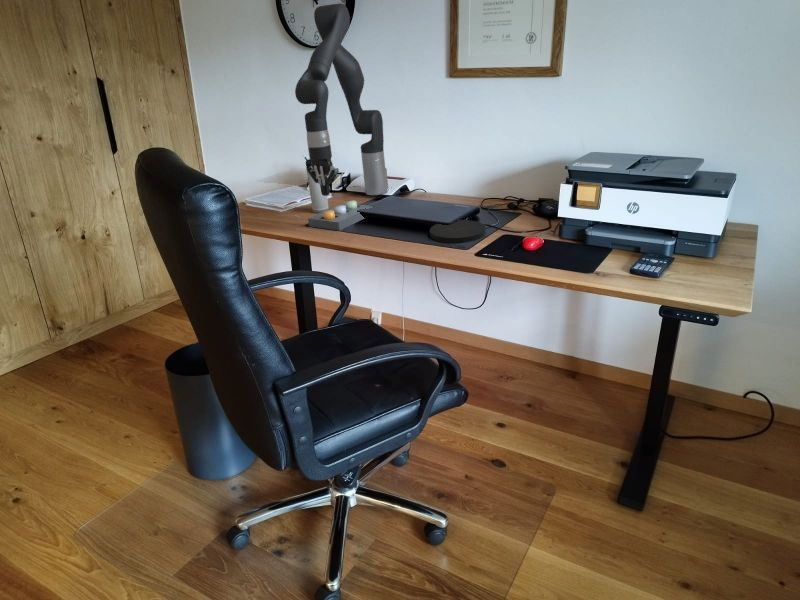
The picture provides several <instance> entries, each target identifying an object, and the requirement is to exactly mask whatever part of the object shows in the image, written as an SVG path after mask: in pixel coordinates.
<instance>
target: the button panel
mask: <svg viewBox="0 0 800 600" xmlns="http://www.w3.org/2000/svg"><path fill="white" fill-rule="evenodd" d="M339 205H345V206H346V202H342V203H340V204H338V205H335V206H332V208H331V207H330V208H329V209H328V210H333V211H334V213H335V207H336V206H339ZM373 207H374V206H372V205H364V204H363V205H362V204H357V208H356V209H353V210H351V209H346V213H345V214H343V215H339V214H335V218H334V219H332V220H325V219H324V217H323V212H321V213H316V214H315V215H313V216H309V217H308V218H307V220H308V227H311V228H317V229H326V230H330V231H331V230H332V231H338V232H339V231H342V230H344V229H347V228H348V227H350V226H352V225H354V224H356V223H358V222H360V221H362V220H364V219H365V218H364V217H363V216H362V215H361V214H360V212H357V210H359V209H365V208H366V209H369V208H373ZM373 209H374V208H373ZM328 210H326V211H328Z"/></svg>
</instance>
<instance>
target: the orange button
mask: <svg viewBox="0 0 800 600" xmlns="http://www.w3.org/2000/svg"><path fill="white" fill-rule="evenodd" d="M323 217H324V219H325V220H332V219H334V218H335V213H334V211H333V210H328V211H324V212H323Z"/></svg>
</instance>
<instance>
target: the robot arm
mask: <svg viewBox="0 0 800 600" xmlns="http://www.w3.org/2000/svg"><path fill="white" fill-rule="evenodd" d="M313 15H314V16H313V18H314V23H315V27H316V29H317V31H318V33H319V36H320V38H321V40H322V41H321V42H320V43H319V44H318V45H317V46H316V48H315V49H314V50H313V52H312V54H311V56H310V58H309V62H308V65H307V66H308V67H307V68H306V70H304V72H303V73H302V75H301V76H300V78H299V79H298V81H297V83H296V85H295V90H294V92H295V94H294V95H295V99H296V100H297V101H298V103H300V104H302V105H313V104H315V107H314V110H312V111H308V112H306V113H305V114H304V123H305V129H306V143H307V147H308V148H307V149H308V156H309V159H310V160H312V161H311V166H310V167H309V168H307V170H306V172H307V171H308V173H309V174H310V176H311V177H312V179H313V180H314V181H315V183H319V185H320V187H321V193H322V195H323V196H327V197H328V196H330V193H331V189H330V184H331V183H333V182H335V179H336V177H337V175H338V173H339V172H340V170H339V168H337V167H336V168H335V166H334V164H333V162H332V157H333V155H332V146H331V141H330V140H331V137H330V134H329V129H328V121H327V112H328V111H327V109H328V101H329V94H330V93H329V88H328V85H327V83H325V82H326V81H327V80H328V78H329V74H330V71H331V68H332V65H333V68H334V70H335V74H336V76H337V79H338V82H339V84H340V87H341V91H342V93H343V95H344V97H345V100H346V103H347V106H348V109H349V113H350V118H351V120H352V124H353V127H354V129H355V132H357V134H359V135H371V139H370V140H369V141H366V142H365V143H362V144H361V145H360V152H361V162H362V172H363V180H364V191H365V194H366V195H367V196H368V195H369V196H378V195H380V196H381V195H384V194H387V193H388V191H387V189H388V190H389V183H388V173H387V171H388V170H387V167H386V161H385V150H384V141H385V140H384V139H385V138H384V125H383V124H384V121H383V117H382V113H381V112H380V110H378V109H367V110H366V109H363V108H362V105H361V101H360V100H361V95H362V92H363V89H364V86H365V77H364V74H363V71H362V67H361V66H360V62H359V61H358V60H357V59H356V57H355V56H354V55H353V54H352V53H351V52H350V51H348V50H347V49H346V48H345V47H344V46H343V45H342V43H343V41H344V39H345V37H346V36H347V33H348V31H349V28H350V24H351V23H350V22H351V18H350V12H349V10H348V7H347V6H346V5H345V4H343V3H332V4H327V5H320V6H317V7H316V8H315V9H314V13H313ZM321 178H322V179H321Z"/></svg>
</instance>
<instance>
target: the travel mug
mask: <svg viewBox="0 0 800 600" xmlns="http://www.w3.org/2000/svg"><path fill="white" fill-rule="evenodd" d="M311 161H312V160H310V158H309V159H307V160H305V167H306V175H307V181H308V182H307V183H308V189H309V196H310V201H311V208H312V212H313V213H314V214H319V213H321V212H324V211H326V210H328V209H330V208H329V200H328V199H329V198H328V196H323V195H322V193H321V187H320V185H319V183H315V181H314V180H313V179H312V177H311V176H310V174H309V173H308V171H307V168H309V167H310V166H311ZM321 179H322V178H321Z"/></svg>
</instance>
